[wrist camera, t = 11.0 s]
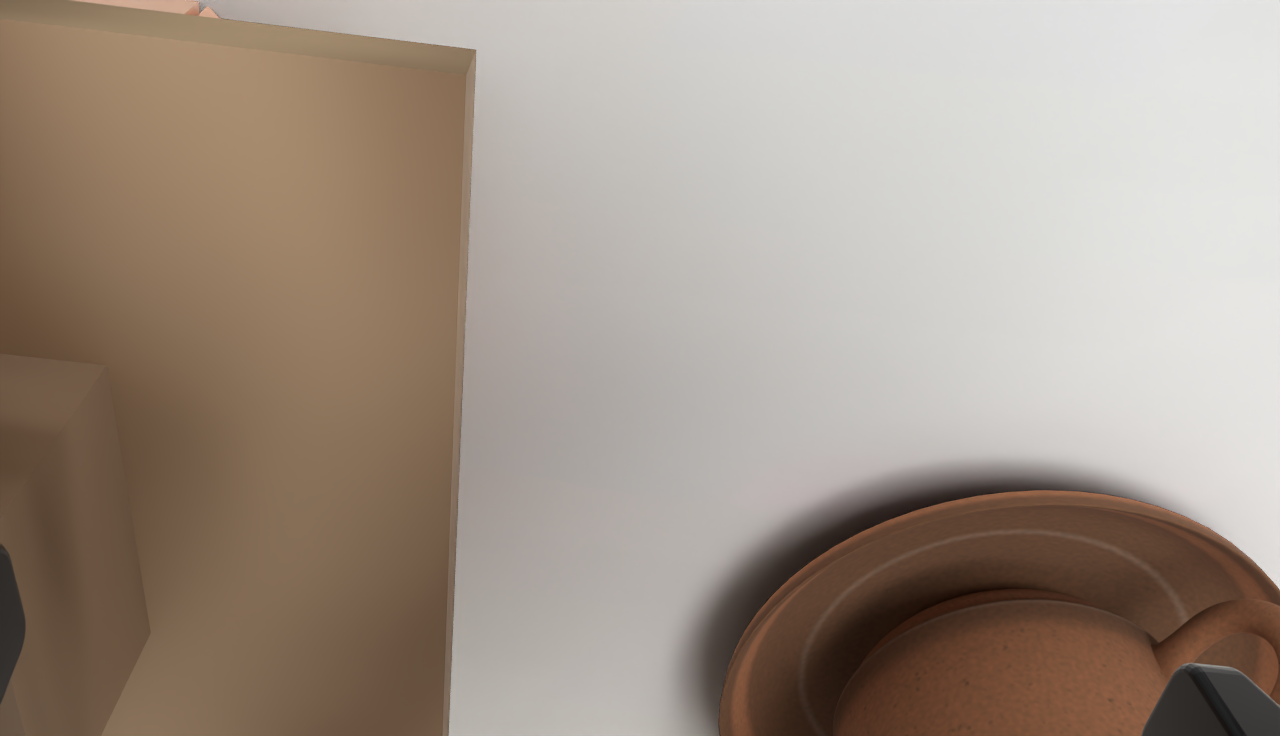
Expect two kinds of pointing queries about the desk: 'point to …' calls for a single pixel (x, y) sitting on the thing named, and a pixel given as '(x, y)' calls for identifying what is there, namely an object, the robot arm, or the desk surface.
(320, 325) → the lid
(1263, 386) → the desk surface
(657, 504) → the desk surface
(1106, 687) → the cup and saucer
